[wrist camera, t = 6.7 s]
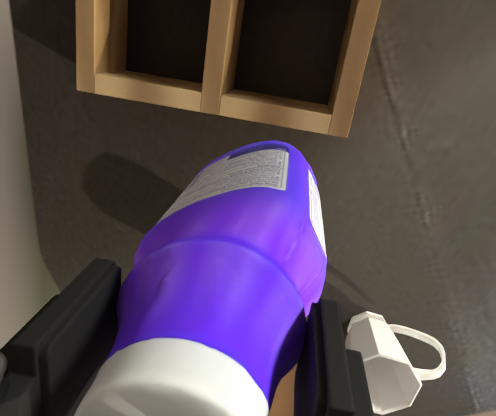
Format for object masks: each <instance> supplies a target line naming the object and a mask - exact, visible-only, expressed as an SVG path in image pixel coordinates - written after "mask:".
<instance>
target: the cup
mask: <svg viewBox="0 0 496 416" xmlns="http://www.w3.org/2000/svg"><path fill="white" fill-rule="evenodd" d="M347 332H348V335H347V338H346V342H345V348H346V349H350V350H355V351H360V353H361V355H362V358H363V363H364V368H365V373H366V378H367V383H368V388H369V393H370V397H371V402H372V407H373V412H374V413H377V414H381V415H384V414H387V413H390V412H394V411H397V410H400V409H403V408H406V407H410V406H411V404H412V403H413V401H414V399H415V397H416V395H417V394H418V392H419V390H420V388H421V386H422V383H421V381H420V380H431V379H436V378H438V377H440V376H441V375H442V374H443V372H444V371H445V370H446V359H445V351H444V348H443V346H442V345H441V344H440V343H439V342H438V341H437V340H436V339H435V338H433V337H431V336H429V335H427V334H425V333H422V332H420V331H417V330H414V329H411V328H408V327H404V326H400V325H395V324H390V325H387V323H386V321H385V320H384V318H383V316H382V315H379V314H375V313H372V312H368V311H365V312H363V313H360V314H358V315H355V316H353V317H352V318H351V320H350V323H349V325H348V327H347ZM393 332H396V333H401V334H405V335H408V336H411V337H414V338H417V339H419V340H422V341H424V342H426V343H428V344H430V345H432V346H434V347H435V348H436V349H437V350H438V351H439V353H440V355H441V359H442V362H441V364H440V365H439V366H438V367H437V368H436V369H433V370H426V369H417V368H413V367H412V365H411V364H410V362H409V360H408V358H407V356H406V354H405V353H404V351H403V349H402V347H401V345H400V344H399V342H398V340H397V338H396V337H395V335H394V333H393Z"/></svg>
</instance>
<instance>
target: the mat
mask: <svg viewBox="0 0 496 416" xmlns="http://www.w3.org/2000/svg"><path fill="white" fill-rule="evenodd" d="M297 363H298V362H297ZM296 367H297V364H296V365H295V366H294V367H293V369H292V370H291V371H290V372H289V373H288V374H286V375H285V376H284V377H283V378H282V379H281V381H280V382H279V384H278V387H277V389H276V392H275V396H274V398H273V402H272V406H271V410H270V416H294V380H295V372H296Z"/></svg>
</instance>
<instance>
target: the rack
mask: <svg viewBox="0 0 496 416" xmlns="http://www.w3.org/2000/svg"><path fill="white" fill-rule="evenodd" d="M75 1H76V81H77V90H78V91H84V92H89V93H95V94H100V95H106V96H112V97H117V98H123V99H129V100H134V101H140V102H146V103H151V104H157V105H163V106H168V107H174V108H180V109H185V110H191V111H197V112H203V113H208V114H214V115H220V116H226V117H231V118H237V119H243V120H248V121H254V122H260V123H265V124H271V125H277V126H282V127H288V128H294V129H299V130H305V131H311V132H317V133H322V134H328V135H333V136H339V137H344V138H347V137H348V133H349V129H350V125H351V121H352V117H353V113H354V109H355V105H356V101H357V97H358V93H359V89H360V85H361V81H362V77H363V73H364V69H365V65H366V61H367V57H368V53H369V48H370V44H371V40H372V36H373V32H374V28H375V24H376V20H377V16H378V12H379V8H380V4H381V0H351V3H350V7H349V12H348V16H347V21H346V25H345V30H344V34H343V39H342V43H341V48H340V52H339V57H338V61H337V66H336V70H335V75H334V79H333V84H332V88H331V93H330V98H329V102H328V105H325V104H319V103H313V102H308V101H302V100H296V99H290V98H284V97H278V96H272V95H267V94H261V93H255V92H249V91H243V90H237V89H233V88H234V80H235V73H236V65H237V58H238V50H239V42H240V35H241V27H242V20H243V12H244V4H245V0H211V5H210V15H209V24H208V34H207V44H206V54H205V63H204V73H203V83H197V82H191V81H185V80H179V79H174V78H168V77H162V76H156V75H150V74H144V73H139V72H133V71H127V70H126V50H127V19H128V0H75Z"/></svg>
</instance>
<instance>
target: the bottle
mask: <svg viewBox="0 0 496 416" xmlns="http://www.w3.org/2000/svg"><path fill="white" fill-rule="evenodd" d="M326 264H327V258H326V249H325V240H324V231H323V223H322V214H321V204H320V196H319V192H318V189H317V183H316V179H315V177H314V174H313V172H312V169H311V167H310V165H309V164H308V163H307V161H306V160H305V158H304V156H303V155H302V154H301V153H300V152H299V151H298V150H297V149H296V148H295V147H293V146H292V145H290V144H288V143H285V142H282V141H261V142H256V143H252V144H248V145H245V146H242V147H239V148H237V149H234V150H232V151H230V152H228V153H226V154H224V155H222V156H220V157H218V158H217V159H215V160H213V161H212V162H210V163H209V164H208V165H206V166H205V167H204V168H203V169H202V170H201V171H200V172H199V173H198V174H197V175H196V177H195V178H194V179H193V180H192V182H191V183H190V184H189V185H188V187H187V188H186V189H185V190H184V191H183V192H182V194H181V195H180V196H179V197H178V199H177V200H176V201H175V202H174V204H173V205H172V206H171V207H170V208H169V209H168V211H167V212H166V213H165V214H164V215H163V217H162V218H161V219H160V220H159V221H158V222H157V224H156V225H155V226H154V227H153V228H151V229H150V230H149V231H148V232H147V233H146V235H145V236H144V238H143V239H142V241H141V243H140V245H139V247H138V249H137V251H136V254H135V258H134V268H133V270H132V271H131V272H130V273H129V275H128V276H127V278H126V279H125V281H124V282H123V284H122V286H121V288H120V290H119V294H118V299H117V306H116V311H117V319H118V328H119V330H118V333H117V336H116V339H115V343H114V345H113V348H112V350H111V352H110V354H109V356H108V358H107V360H106V361H105V363H104V364H103V366H102V367H101V368H100V370H99V371H98V374H97V376H96V378H95V380H94V382H93V384H92V385H91V387H90V389H89V390H88V392H87V393H86V395H85V396H84V398H83V400H82V401H81V403H80V405H79V407H78V408H77V410H76V413H75V415H74V416H270V410H271V406H272V402H273V398H274V396H275V392H276V389H277V387H278V384H279V382H280V381H281V379H282V378H283V377H284V376H285V375H286V374H288V373H289V372H290V371H291V370H292V369H293V367H294V366H295V365H296V364H297V362H298V360H299V358H300V356H301V353H302V350H303V345H304V340H305V335H306V317H307V315H308V314H309V312H310V307H311V304H312V302H314V303H317V302H318V300H319V298H320V295H321V293H322V289H323V285H324V280H325V275H326Z"/></svg>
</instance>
